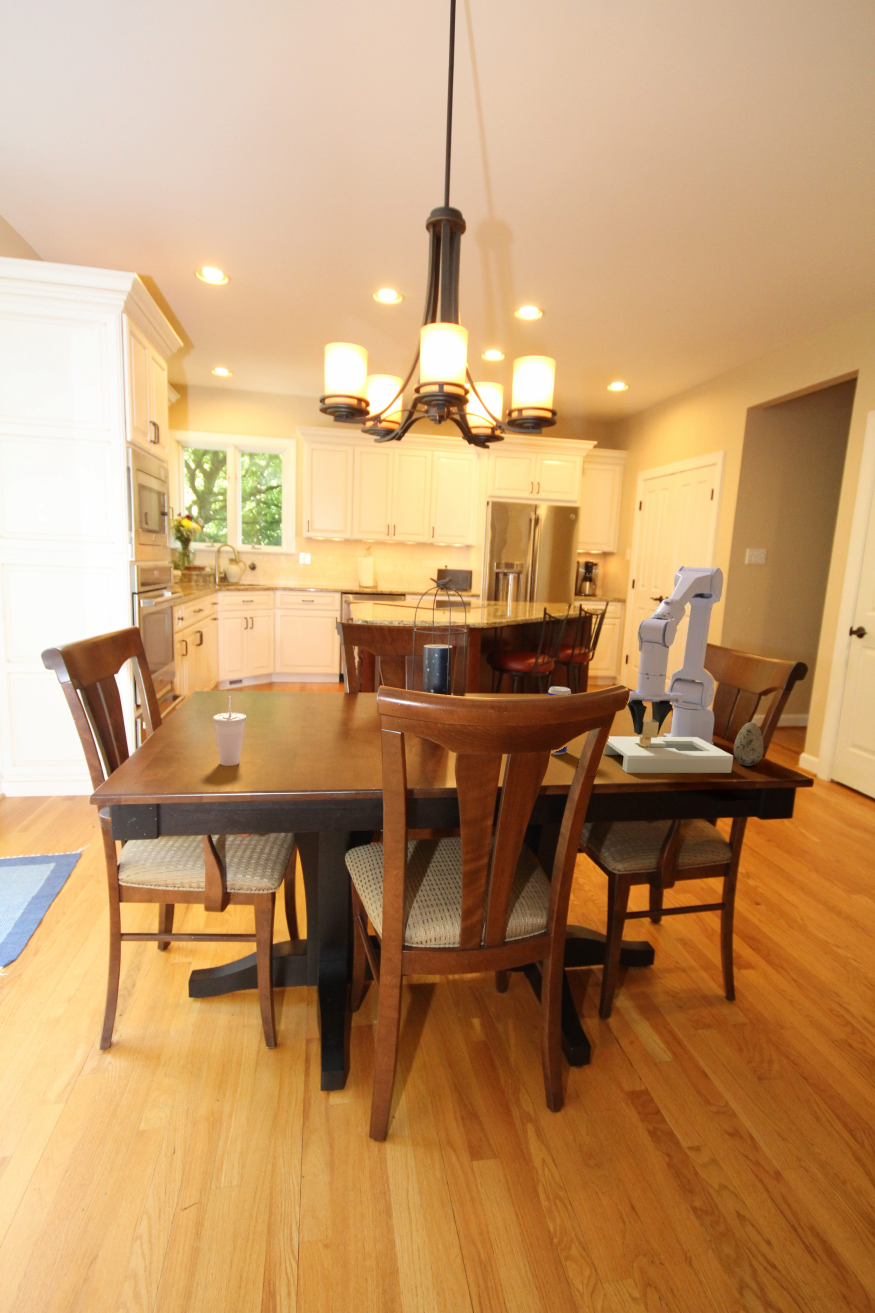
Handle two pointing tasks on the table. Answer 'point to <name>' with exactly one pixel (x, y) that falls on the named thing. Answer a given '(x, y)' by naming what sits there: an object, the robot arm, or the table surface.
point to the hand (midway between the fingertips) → (646, 733)
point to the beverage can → (559, 691)
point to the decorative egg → (749, 745)
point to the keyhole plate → (669, 755)
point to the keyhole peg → (648, 732)
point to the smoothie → (229, 735)
